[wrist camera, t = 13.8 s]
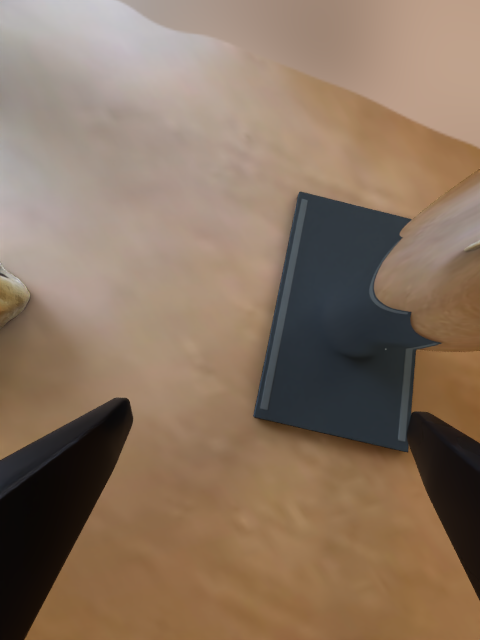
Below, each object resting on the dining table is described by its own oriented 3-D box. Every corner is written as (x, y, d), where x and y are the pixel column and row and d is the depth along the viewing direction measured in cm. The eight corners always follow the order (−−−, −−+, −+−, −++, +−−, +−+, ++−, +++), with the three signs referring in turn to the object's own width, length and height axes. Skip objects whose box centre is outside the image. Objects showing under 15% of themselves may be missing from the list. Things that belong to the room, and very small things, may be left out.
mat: (404, 450, 21) (408, 452, 21) (253, 416, 21) (254, 417, 20) (422, 225, 26) (426, 222, 25) (298, 194, 25) (299, 190, 25)
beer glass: (297, 327, 22) (450, 226, 7) (343, 266, 24) (546, 80, 9) (368, 382, 22) (681, 388, 7) (410, 315, 23) (742, 204, 8)
